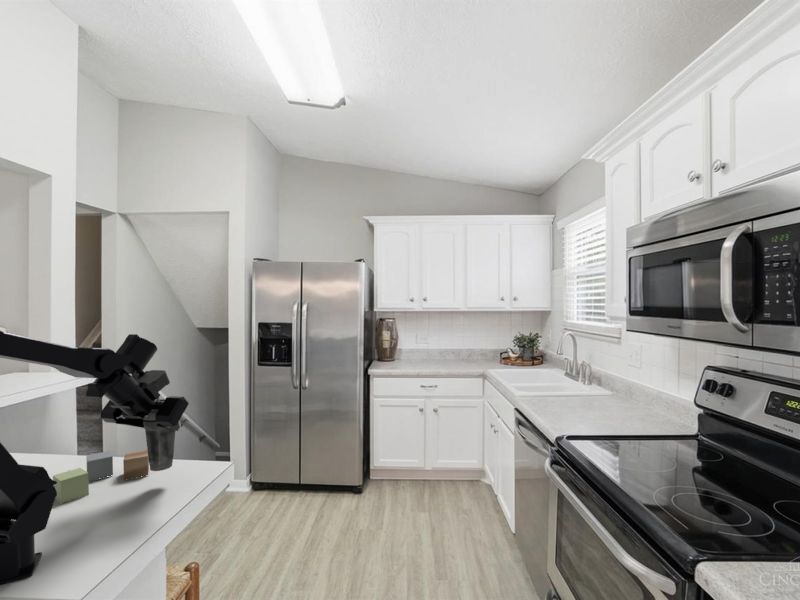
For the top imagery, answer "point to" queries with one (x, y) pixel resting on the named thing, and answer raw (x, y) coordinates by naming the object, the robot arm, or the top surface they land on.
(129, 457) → the walnut block
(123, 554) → the top surface
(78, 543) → the top surface
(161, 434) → the beverage cup
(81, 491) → the olive block
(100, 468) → the charcoal block
